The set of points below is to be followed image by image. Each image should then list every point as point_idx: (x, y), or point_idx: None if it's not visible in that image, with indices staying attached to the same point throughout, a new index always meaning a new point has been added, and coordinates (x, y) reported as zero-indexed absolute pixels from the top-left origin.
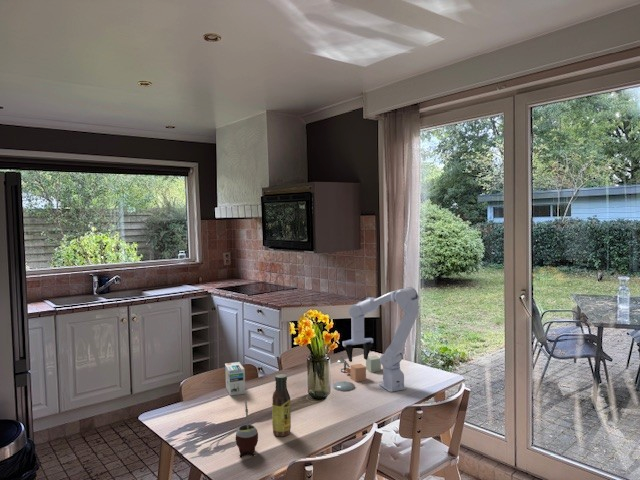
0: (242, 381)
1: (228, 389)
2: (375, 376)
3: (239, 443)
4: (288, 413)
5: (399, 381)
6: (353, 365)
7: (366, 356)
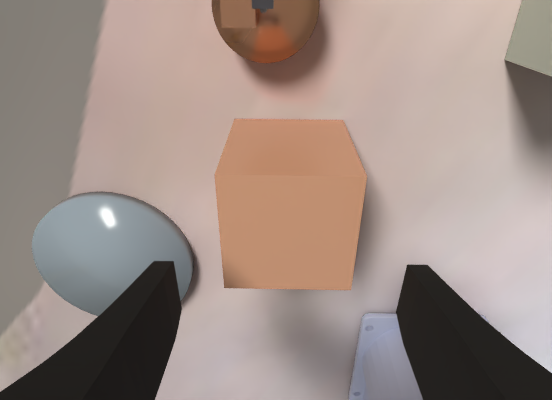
0: None
1: None
2: (458, 171)
3: None
4: None
5: None
6: (246, 200)
7: (410, 363)
